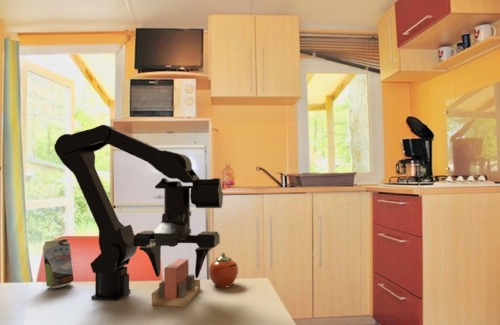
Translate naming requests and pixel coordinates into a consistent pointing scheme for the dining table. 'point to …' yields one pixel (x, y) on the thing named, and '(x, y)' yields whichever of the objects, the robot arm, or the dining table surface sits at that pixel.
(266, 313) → the dining table surface
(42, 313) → the dining table surface
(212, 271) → the tomato
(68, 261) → the printed carton
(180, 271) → the pink rectangular block
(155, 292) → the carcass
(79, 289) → the dining table surface
